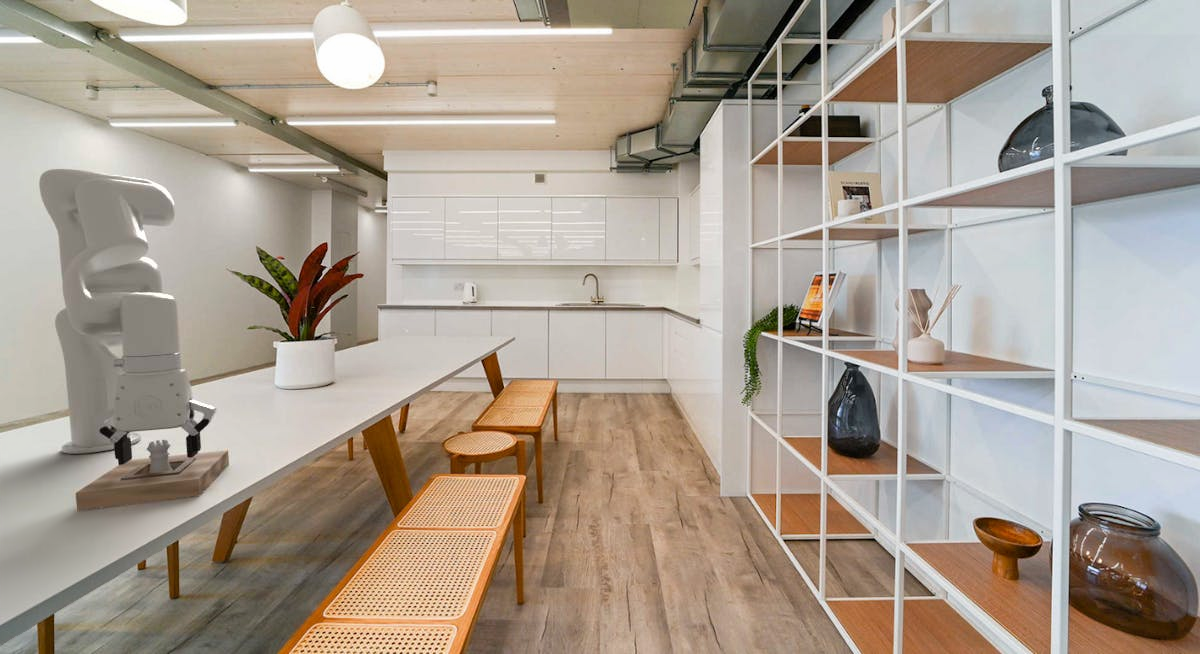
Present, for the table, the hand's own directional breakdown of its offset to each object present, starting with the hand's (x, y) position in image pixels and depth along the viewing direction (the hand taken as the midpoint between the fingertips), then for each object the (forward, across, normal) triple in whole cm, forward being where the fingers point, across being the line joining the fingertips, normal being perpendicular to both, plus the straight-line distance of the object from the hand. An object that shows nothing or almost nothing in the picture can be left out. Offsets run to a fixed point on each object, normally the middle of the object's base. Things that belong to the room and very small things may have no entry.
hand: (159, 458), depth 90 cm
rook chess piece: (+5, 0, 0) cm, 5 cm away
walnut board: (+5, 0, 0) cm, 5 cm away
